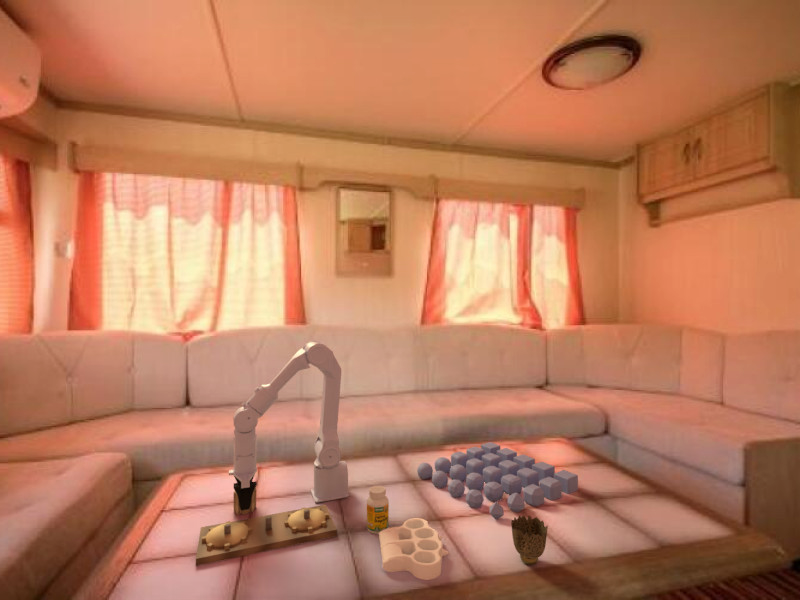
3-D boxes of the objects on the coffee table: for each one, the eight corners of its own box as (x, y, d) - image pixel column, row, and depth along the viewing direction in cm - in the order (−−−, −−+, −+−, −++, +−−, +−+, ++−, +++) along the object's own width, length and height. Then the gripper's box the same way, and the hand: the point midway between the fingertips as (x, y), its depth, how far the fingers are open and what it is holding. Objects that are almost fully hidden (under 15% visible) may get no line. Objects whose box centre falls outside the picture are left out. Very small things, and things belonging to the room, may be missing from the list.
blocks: (578, 491, 121) (578, 475, 121) (497, 527, 101) (497, 507, 102) (490, 455, 150) (490, 441, 150) (414, 477, 130) (414, 462, 131)
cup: (506, 551, 91) (506, 515, 91) (538, 549, 91) (538, 513, 92) (518, 573, 83) (518, 534, 83) (553, 571, 84) (553, 532, 84)
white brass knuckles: (377, 534, 98) (437, 530, 100) (384, 585, 81) (456, 579, 82) (377, 520, 98) (437, 516, 100) (384, 568, 81) (457, 562, 82)
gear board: (325, 510, 109) (325, 495, 109) (336, 535, 97) (336, 518, 97) (200, 533, 98) (200, 516, 98) (195, 566, 86) (195, 546, 86)
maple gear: (255, 502, 113) (255, 484, 113) (256, 512, 108) (256, 493, 108) (233, 506, 111) (233, 487, 111) (233, 516, 106) (233, 496, 106)
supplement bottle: (381, 520, 104) (381, 482, 104) (392, 530, 99) (392, 490, 99) (362, 526, 101) (362, 487, 101) (373, 537, 96) (373, 496, 96)
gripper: (229, 446, 115) (229, 494, 115) (228, 465, 101) (228, 520, 101) (255, 442, 117) (255, 490, 117) (258, 461, 104) (258, 514, 104)
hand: (244, 503), depth 109 cm, fingers closed on maple gear, 6 cm apart
